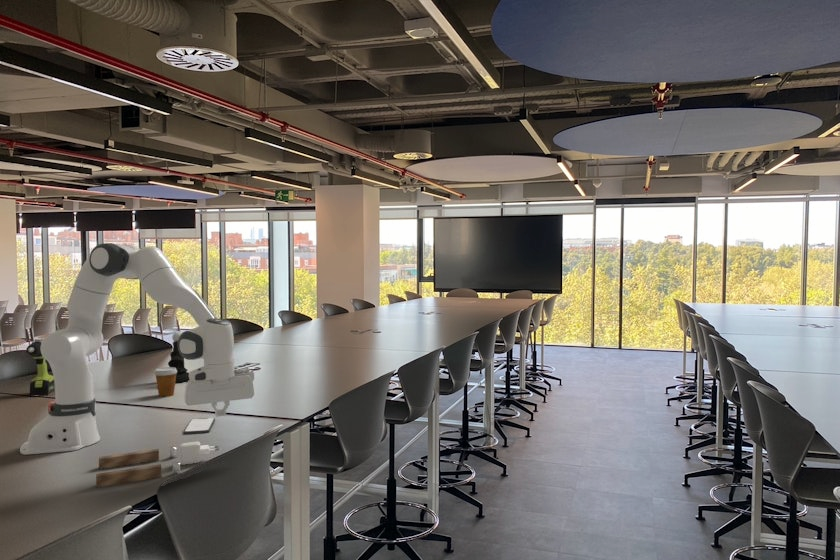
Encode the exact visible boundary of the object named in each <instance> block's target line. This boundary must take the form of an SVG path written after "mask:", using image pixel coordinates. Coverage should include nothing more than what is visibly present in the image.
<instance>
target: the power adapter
mask: <svg viewBox="0 0 840 560" xmlns="http://www.w3.org/2000/svg"><path fill="white" fill-rule="evenodd" d="M216 451H217V452H218V451H220V448H219V445H211V446H210V445H209V444H202V445H201V442H200V441H189V442H182V443H180V445H179V462H180V466H181V465H183V466H186V464H187V465H193V463H194V464H199V463H200V462H201V460H202V455H208V454H209V455H210V454H211V453H210V452H216Z"/></svg>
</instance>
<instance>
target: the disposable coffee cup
mask: <svg viewBox="0 0 840 560" xmlns="http://www.w3.org/2000/svg"><path fill="white" fill-rule="evenodd" d="M176 373H177V370H176V368H174V367H169V366H168V367H167V366H166V367H159V368H156V369H155V370H154V374H155V380H156V386H157V392H158V396H159V397H160V396H168V397H172V396H174V395H175V386H176V383H175V381H176Z"/></svg>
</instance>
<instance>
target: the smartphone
mask: <svg viewBox="0 0 840 560" xmlns="http://www.w3.org/2000/svg"><path fill="white" fill-rule="evenodd" d="M215 422H216V418H215V417H205V418H192V419H190V421H189V422H188V425H186V427H185V429H184V431H183V435H195V434H208V433H210V432H211V430H212V429H213V426H214V424H215Z"/></svg>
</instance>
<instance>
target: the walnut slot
mask: <svg viewBox="0 0 840 560" xmlns="http://www.w3.org/2000/svg"><path fill="white" fill-rule="evenodd" d="M159 450H160V449H159V448H154V449H148V450H140V451H139V450H138V451H133V452H125V453H119V454H112V455H105V456H99V457H98V470H102V469H103V468H104V469H111V468H117V466H118V467H123V465H125V466H130V465H129V464H131V465H135V464H134V463H138V464H141V463H140V462H145V463H149V462H148V461H151V462H157V461H156V460H158V461H160V451H159ZM95 476H96V477H95V478H96V480H95V483H96V484H95V485H96V488H101V487H102V488H103V487H107V486H114V485H120V484H126V483H132V482H139V481H144V480H151V479H159V478H162V464H161V463H160V464H159V463H158V464H153V465H147V466H146V465H145V466H140V467H134V468H128V469H120V470H113V471H107V472H102V473H101V472H100V473H96V475H95Z"/></svg>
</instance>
